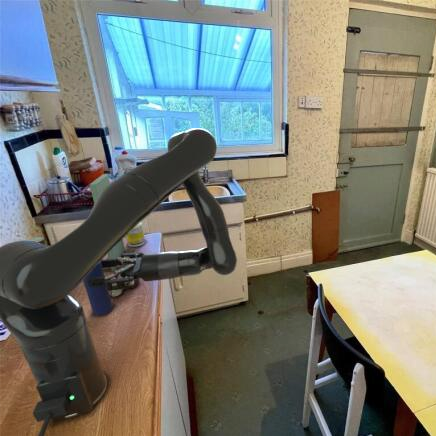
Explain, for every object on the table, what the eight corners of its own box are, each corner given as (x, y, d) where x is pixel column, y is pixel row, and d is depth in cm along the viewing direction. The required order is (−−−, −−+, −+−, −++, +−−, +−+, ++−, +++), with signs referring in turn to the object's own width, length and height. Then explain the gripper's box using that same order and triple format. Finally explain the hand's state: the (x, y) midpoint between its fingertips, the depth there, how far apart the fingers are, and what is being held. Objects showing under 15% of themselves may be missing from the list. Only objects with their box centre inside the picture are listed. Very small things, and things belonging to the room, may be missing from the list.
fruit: (106, 284, 88) (104, 274, 87) (136, 275, 93) (134, 266, 92) (111, 298, 83) (109, 288, 81) (142, 288, 88) (140, 278, 86)
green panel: (144, 250, 108) (129, 173, 96) (137, 268, 97) (119, 183, 86) (112, 254, 105) (92, 174, 93) (101, 272, 95) (77, 184, 83)
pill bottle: (128, 241, 114) (122, 216, 110) (145, 238, 117) (140, 213, 113) (127, 248, 109) (121, 222, 105) (145, 245, 112) (140, 219, 107)
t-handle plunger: (98, 301, 81) (78, 231, 72) (116, 299, 82) (98, 229, 74) (88, 321, 74) (64, 246, 65) (108, 318, 75) (86, 244, 67)
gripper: (164, 241, 83) (100, 247, 79) (156, 268, 70) (80, 276, 66) (167, 263, 86) (106, 270, 82) (160, 293, 73) (88, 302, 69)
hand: (94, 272), depth 74 cm, fingers open, 8 cm apart
